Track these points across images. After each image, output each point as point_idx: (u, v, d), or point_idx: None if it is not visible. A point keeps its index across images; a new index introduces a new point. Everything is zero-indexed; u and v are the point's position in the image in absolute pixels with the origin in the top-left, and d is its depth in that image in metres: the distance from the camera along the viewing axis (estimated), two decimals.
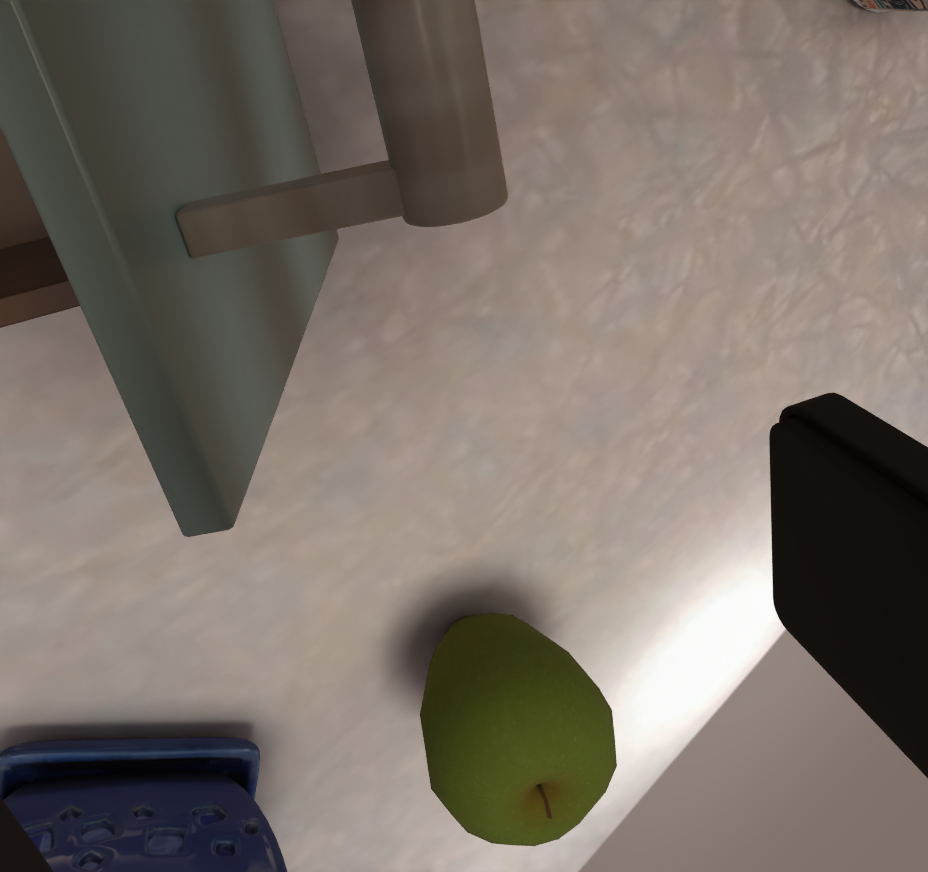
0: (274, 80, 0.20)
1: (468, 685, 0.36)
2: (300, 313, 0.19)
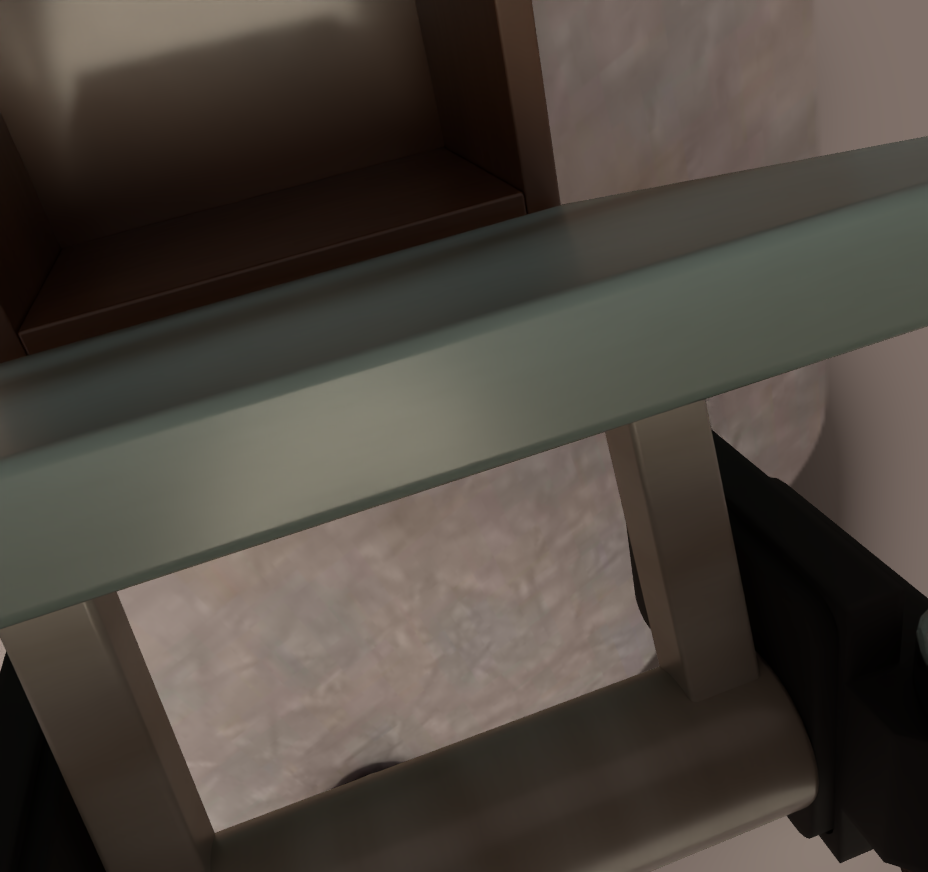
0: None
1: None
2: None
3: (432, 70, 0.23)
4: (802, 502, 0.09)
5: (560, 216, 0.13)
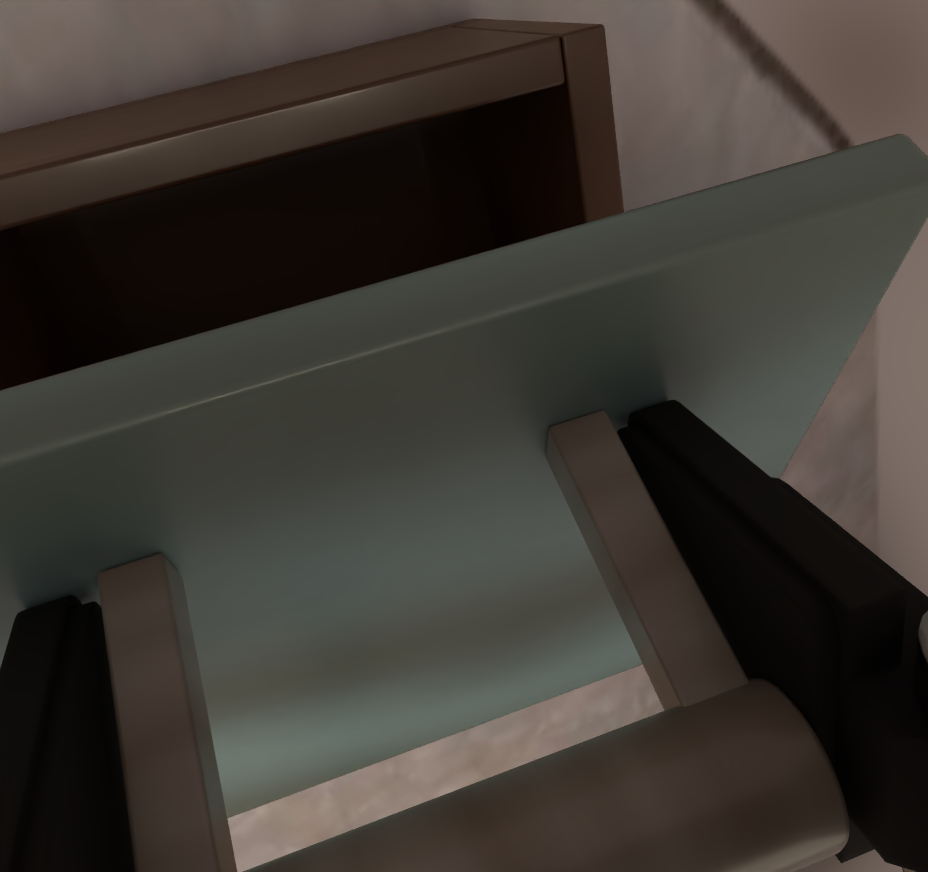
0: (353, 738, 0.17)
1: None
2: None
3: None
4: (803, 502, 0.09)
5: None
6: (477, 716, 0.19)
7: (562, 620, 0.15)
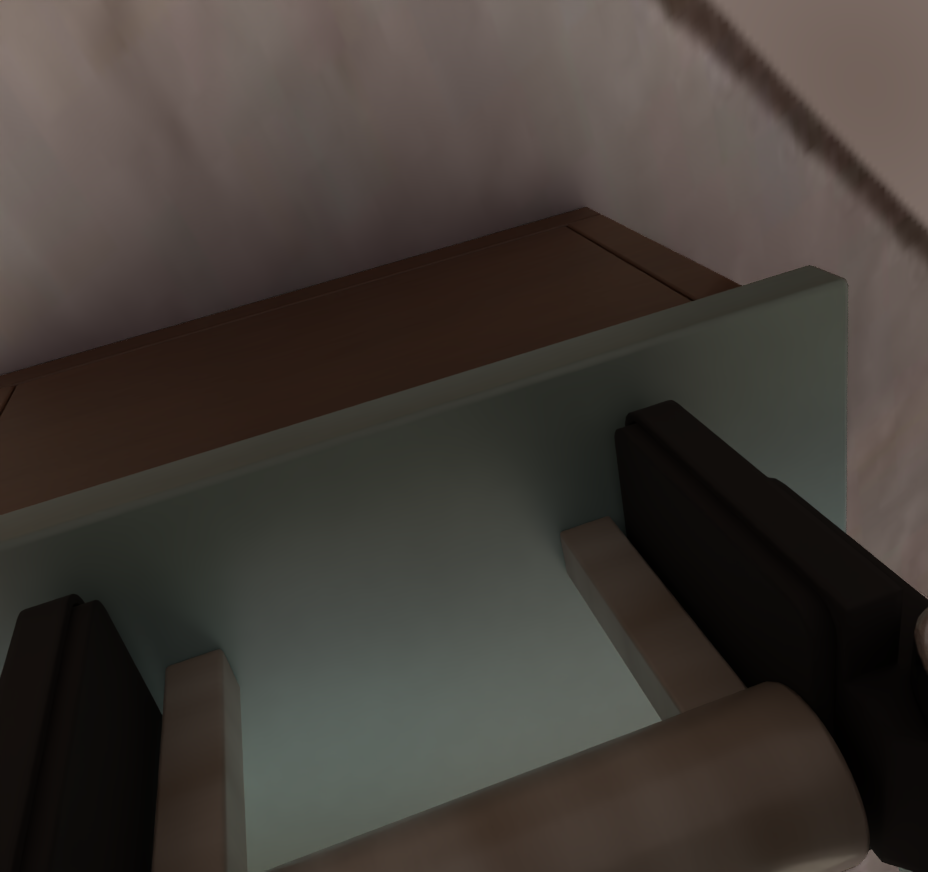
0: None
1: None
2: None
3: None
4: (800, 502, 0.09)
5: None
6: None
7: None
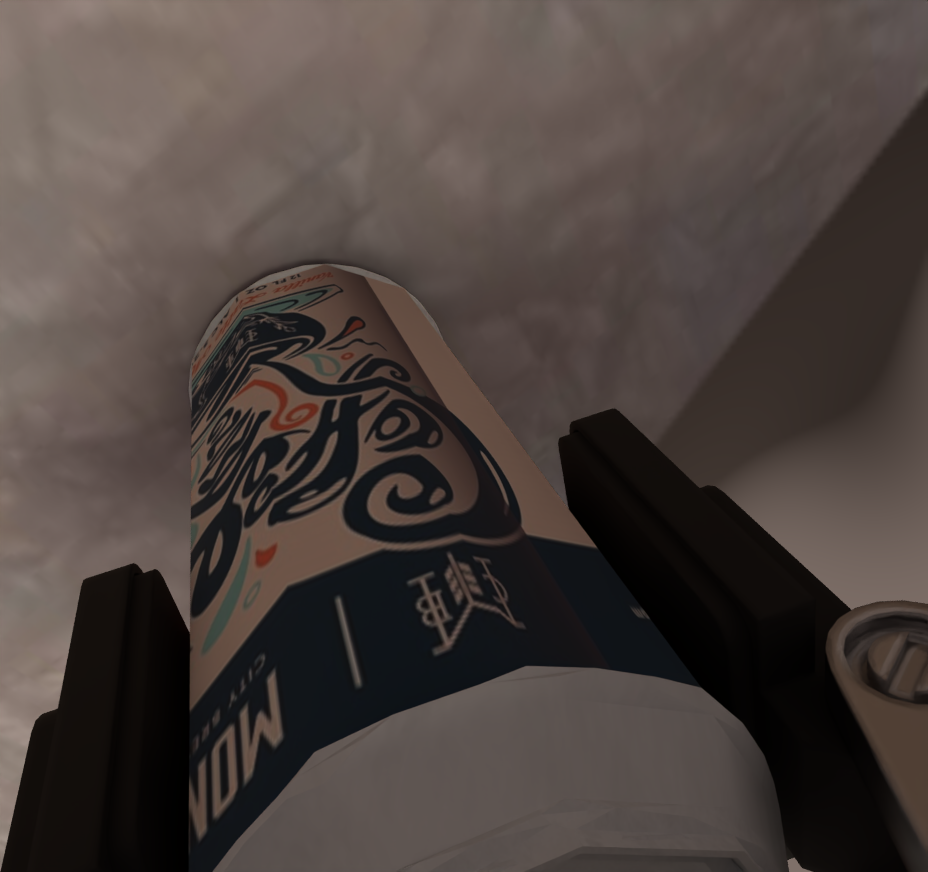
0: None
1: None
2: None
3: None
4: (737, 510, 0.09)
5: None
6: None
7: None
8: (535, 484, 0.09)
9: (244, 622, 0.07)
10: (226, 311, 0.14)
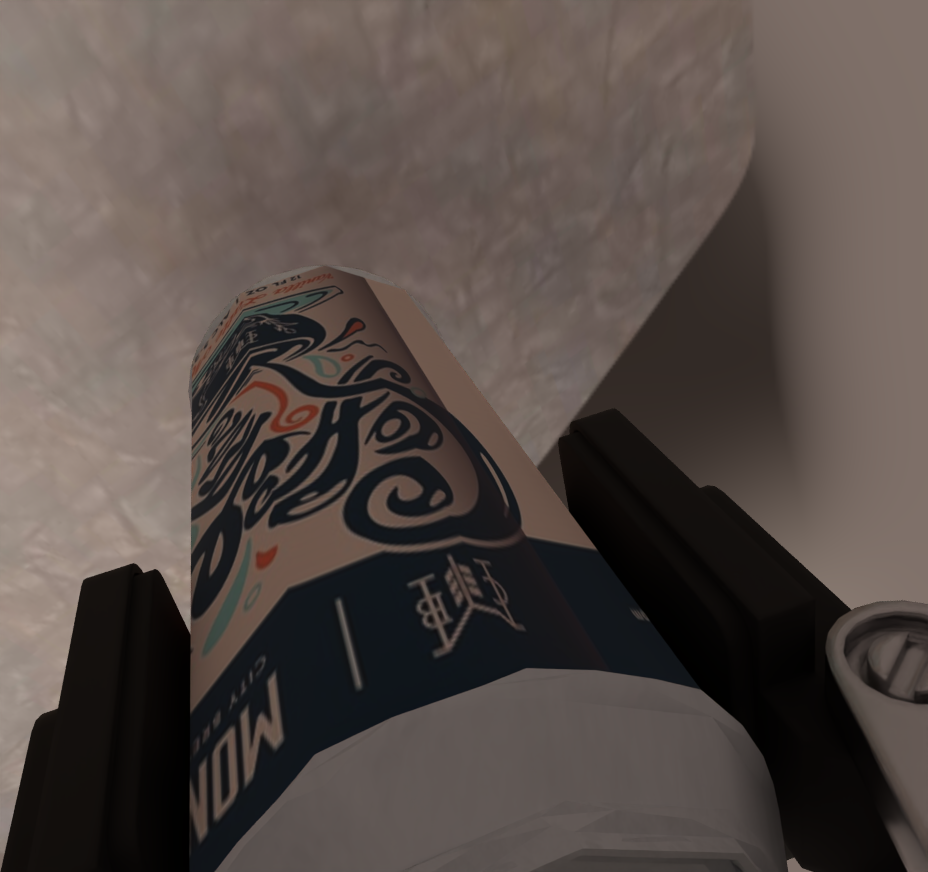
0: None
1: None
2: None
3: None
4: (737, 510, 0.09)
5: None
6: None
7: None
8: (534, 486, 0.09)
9: (244, 624, 0.07)
10: (226, 312, 0.14)
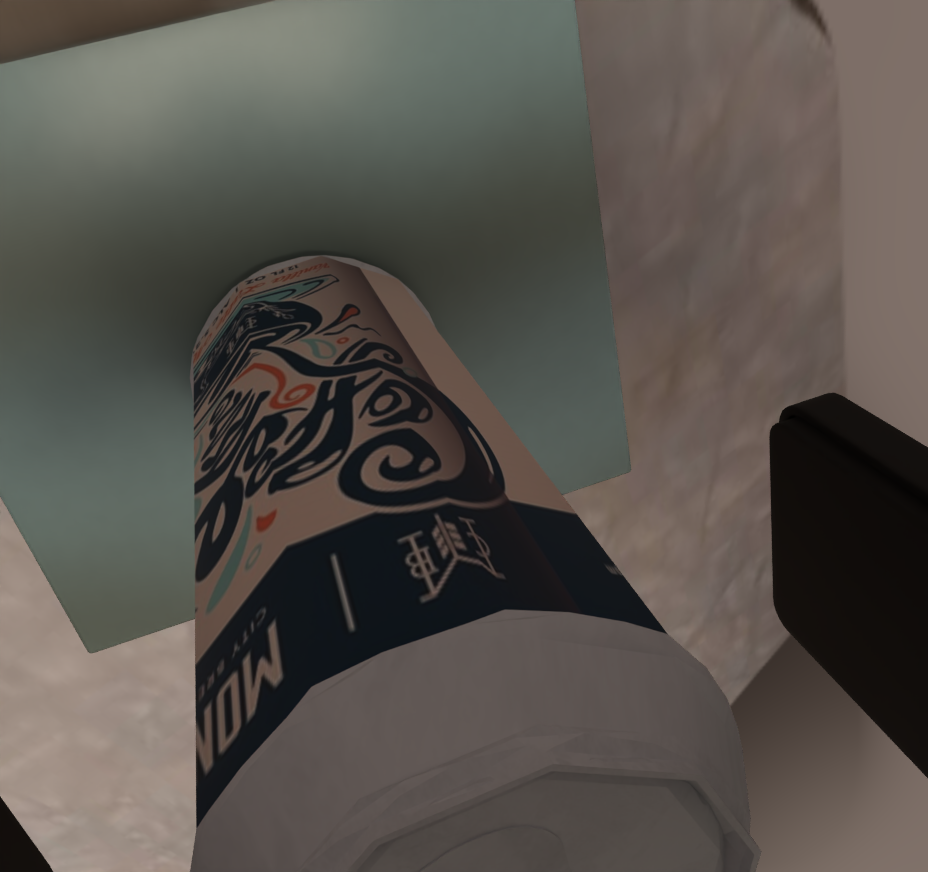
0: None
1: None
2: None
3: None
4: None
5: None
6: None
7: (442, 300, 0.17)
8: (519, 458, 0.09)
9: (246, 582, 0.08)
10: (226, 301, 0.15)
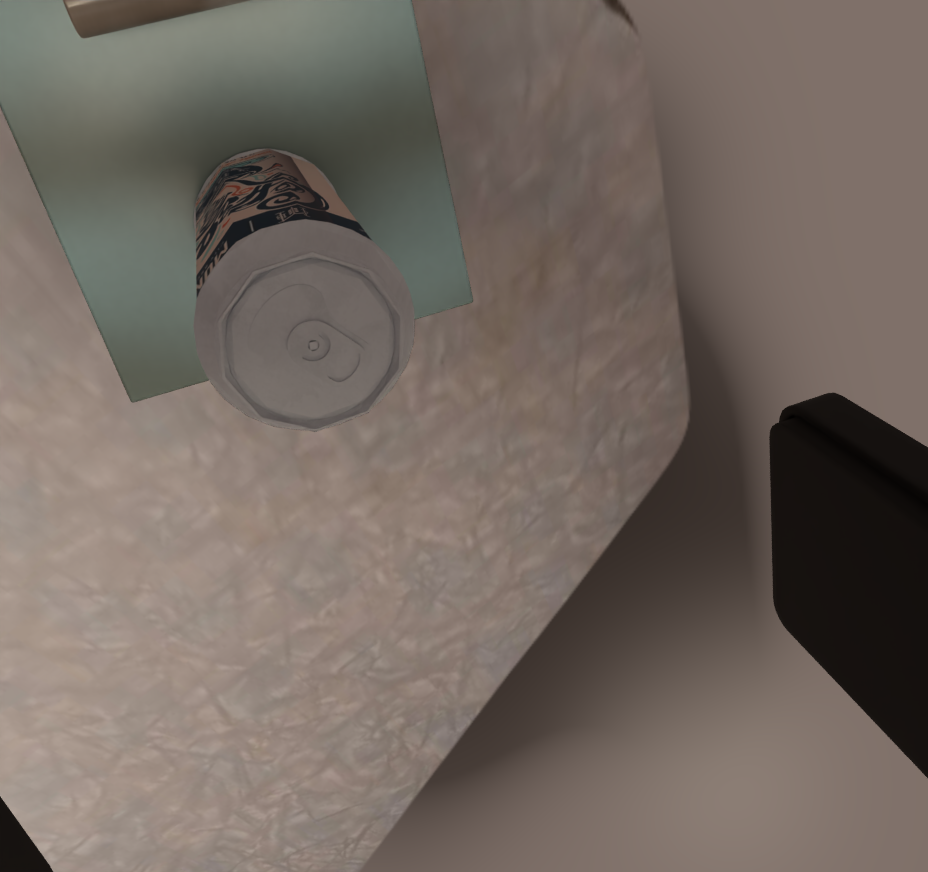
0: None
1: None
2: (58, 203, 0.26)
3: None
4: None
5: None
6: None
7: (343, 181, 0.28)
8: (341, 209, 0.21)
9: (217, 242, 0.19)
10: (214, 173, 0.27)
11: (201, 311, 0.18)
